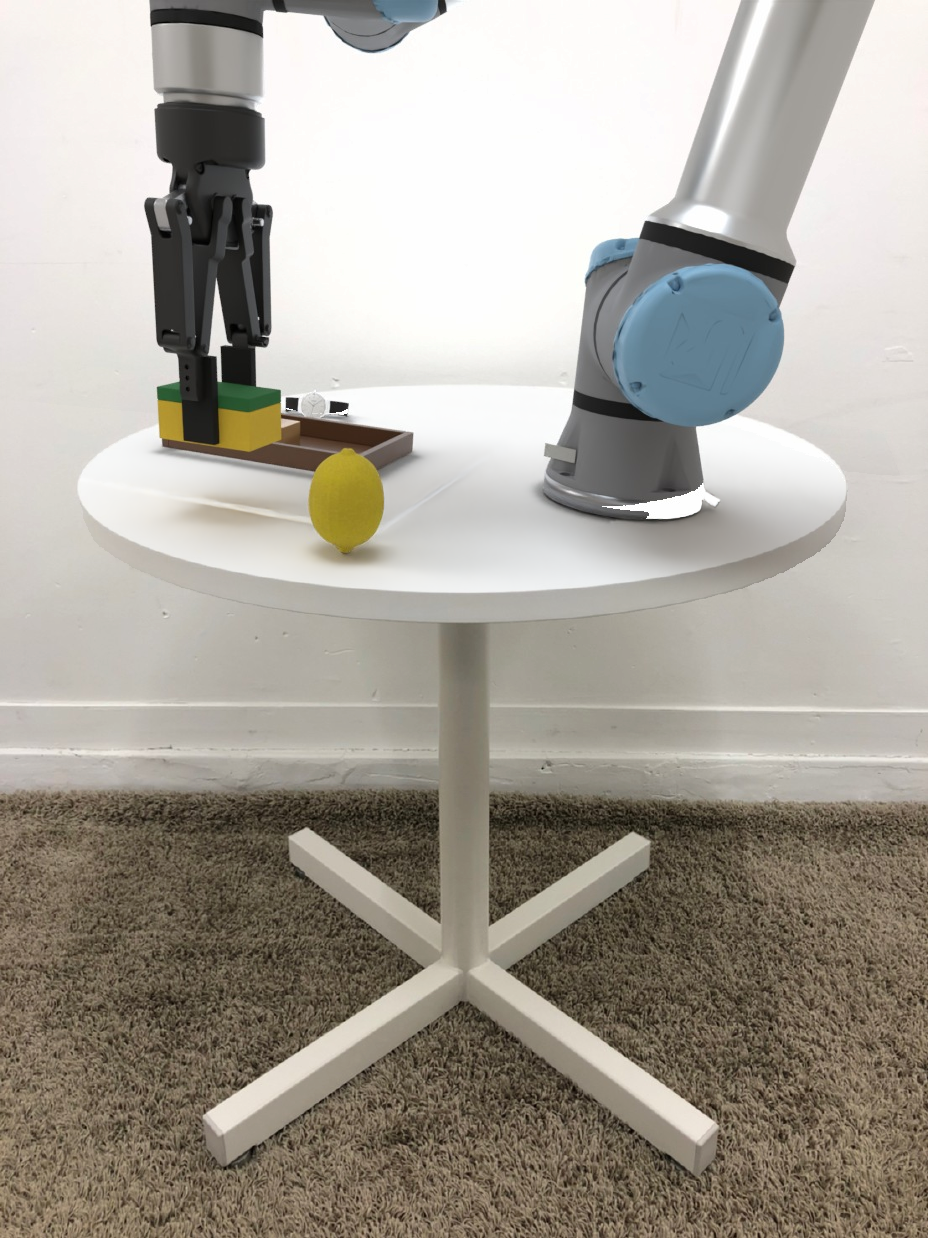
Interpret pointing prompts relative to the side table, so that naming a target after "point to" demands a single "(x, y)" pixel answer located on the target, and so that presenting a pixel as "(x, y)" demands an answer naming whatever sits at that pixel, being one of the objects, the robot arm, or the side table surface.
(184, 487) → the side table surface
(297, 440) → the tan wooden block
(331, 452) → the tray
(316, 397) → the watch
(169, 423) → the sponge
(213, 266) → the robot arm
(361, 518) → the lemon
